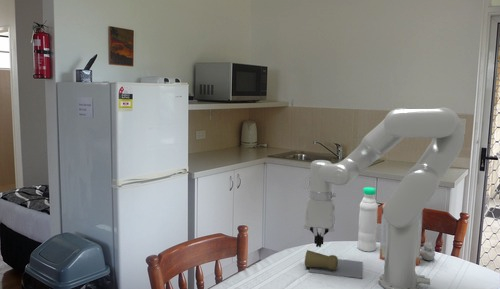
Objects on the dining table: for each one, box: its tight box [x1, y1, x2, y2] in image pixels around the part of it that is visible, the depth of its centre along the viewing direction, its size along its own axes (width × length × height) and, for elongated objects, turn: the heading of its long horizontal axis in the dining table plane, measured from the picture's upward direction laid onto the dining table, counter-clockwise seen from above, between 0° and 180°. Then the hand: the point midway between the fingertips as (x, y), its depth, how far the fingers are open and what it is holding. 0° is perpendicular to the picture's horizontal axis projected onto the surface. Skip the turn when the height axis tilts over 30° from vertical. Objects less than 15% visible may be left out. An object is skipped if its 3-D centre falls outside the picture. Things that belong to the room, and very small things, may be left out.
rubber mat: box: [308, 258, 364, 280], centre depth 153 cm, size 18×14×1 cm
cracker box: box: [379, 202, 424, 266], centre depth 159 cm, size 14×6×21 cm, turn 64°
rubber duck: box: [420, 240, 436, 261], centre depth 161 cm, size 5×7×8 cm
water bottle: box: [357, 186, 379, 252], centre depth 169 cm, size 7×7×25 cm
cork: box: [304, 249, 339, 270], centre depth 151 cm, size 6×6×11 cm
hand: (318, 245), depth 151 cm, fingers closed
